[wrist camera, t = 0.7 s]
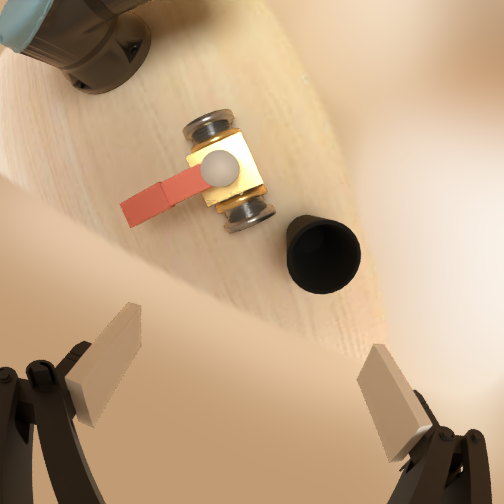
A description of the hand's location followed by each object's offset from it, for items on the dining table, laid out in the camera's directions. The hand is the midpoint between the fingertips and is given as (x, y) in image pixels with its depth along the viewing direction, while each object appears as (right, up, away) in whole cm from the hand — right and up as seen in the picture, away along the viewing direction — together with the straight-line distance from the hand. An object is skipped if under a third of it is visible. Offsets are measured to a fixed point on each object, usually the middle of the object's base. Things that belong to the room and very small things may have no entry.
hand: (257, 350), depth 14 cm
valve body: (-3, +16, +23) cm, 28 cm away
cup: (+7, +8, +25) cm, 27 cm away
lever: (-7, +12, +14) cm, 20 cm away
